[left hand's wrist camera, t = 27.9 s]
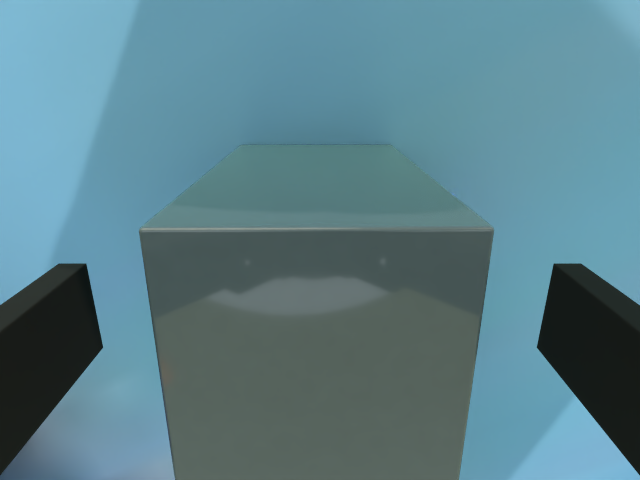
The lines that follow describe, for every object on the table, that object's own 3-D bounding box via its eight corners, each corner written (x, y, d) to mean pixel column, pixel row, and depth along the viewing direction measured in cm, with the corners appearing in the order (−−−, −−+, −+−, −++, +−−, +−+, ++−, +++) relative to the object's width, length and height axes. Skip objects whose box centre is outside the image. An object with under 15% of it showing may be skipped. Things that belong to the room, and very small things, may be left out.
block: (249, 309, 21) (182, 540, 10) (239, 144, 19) (136, 227, 8) (383, 308, 21) (452, 538, 11) (391, 144, 19) (496, 227, 8)
